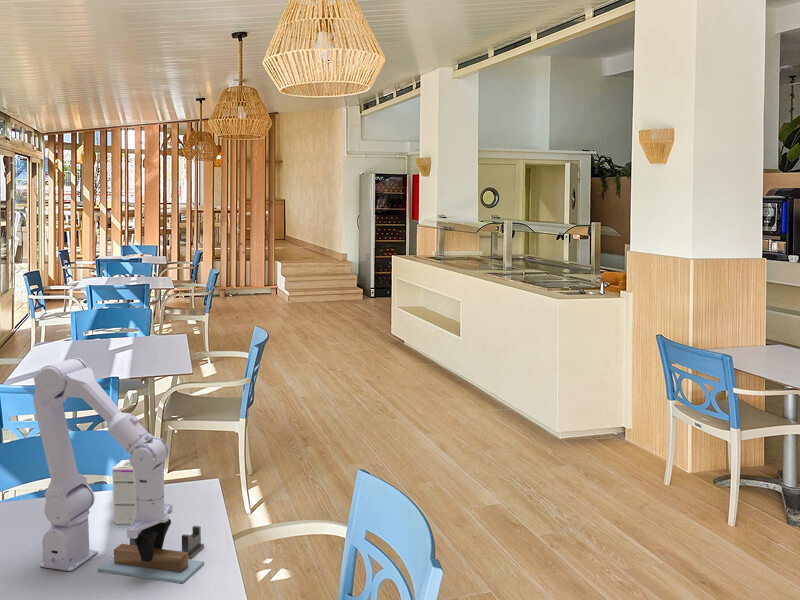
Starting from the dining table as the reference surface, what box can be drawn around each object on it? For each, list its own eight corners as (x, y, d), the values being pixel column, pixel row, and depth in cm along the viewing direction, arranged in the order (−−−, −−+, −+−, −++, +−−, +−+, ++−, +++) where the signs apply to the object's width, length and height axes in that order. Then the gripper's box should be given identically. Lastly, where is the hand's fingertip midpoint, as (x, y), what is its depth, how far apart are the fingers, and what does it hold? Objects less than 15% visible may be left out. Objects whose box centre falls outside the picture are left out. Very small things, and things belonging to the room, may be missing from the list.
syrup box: (137, 525, 188) (136, 467, 186) (113, 524, 188) (111, 466, 186) (145, 515, 193) (144, 459, 191) (122, 515, 193) (120, 459, 192)
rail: (181, 572, 162) (180, 558, 162) (114, 562, 166) (113, 549, 166) (188, 565, 165) (188, 552, 165) (122, 556, 169) (122, 543, 169)
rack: (190, 558, 170) (190, 537, 169) (126, 550, 174) (126, 528, 173) (204, 547, 176) (203, 526, 175) (141, 539, 180) (141, 518, 179)
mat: (183, 583, 159) (182, 580, 159) (98, 571, 164) (97, 568, 164) (204, 564, 168) (204, 561, 168) (122, 552, 172) (122, 550, 172)
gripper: (148, 511, 156) (149, 574, 157) (184, 486, 170) (185, 545, 171) (117, 507, 158) (118, 570, 159) (155, 483, 172) (157, 541, 173)
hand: (151, 556), depth 165 cm, fingers open, 3 cm apart
